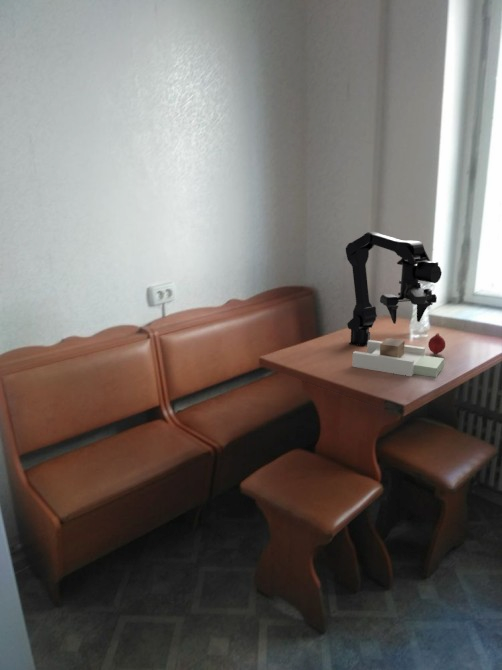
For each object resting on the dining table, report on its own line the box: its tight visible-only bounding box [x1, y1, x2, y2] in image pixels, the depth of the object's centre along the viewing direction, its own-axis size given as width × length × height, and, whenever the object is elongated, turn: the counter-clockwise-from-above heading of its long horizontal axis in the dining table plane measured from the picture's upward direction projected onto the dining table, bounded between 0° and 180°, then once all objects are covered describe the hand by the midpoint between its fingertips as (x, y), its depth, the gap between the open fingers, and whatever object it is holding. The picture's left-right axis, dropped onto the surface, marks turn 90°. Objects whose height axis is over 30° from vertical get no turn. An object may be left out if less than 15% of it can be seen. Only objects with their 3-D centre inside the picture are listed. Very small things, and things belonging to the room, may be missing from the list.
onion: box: [427, 332, 446, 355], centre depth 180 cm, size 6×6×8 cm
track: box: [351, 339, 426, 377], centre depth 172 cm, size 20×17×5 cm
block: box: [380, 337, 406, 358], centre depth 171 cm, size 6×8×5 cm
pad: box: [413, 355, 445, 378], centre depth 166 cm, size 7×11×3 cm, turn 148°
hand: (406, 322), depth 175 cm, fingers open, 9 cm apart
